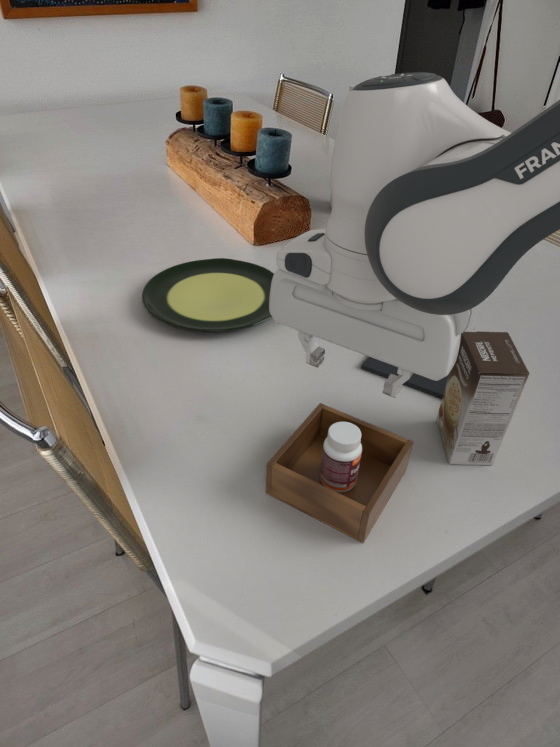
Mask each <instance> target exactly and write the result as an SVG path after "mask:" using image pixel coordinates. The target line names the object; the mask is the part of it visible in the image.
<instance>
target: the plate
mask: <svg viewBox="0 0 560 747" xmlns="http://www.w3.org/2000/svg"><path fill="white" fill-rule="evenodd" d="M274 273H275V272H272V271H271V270H269V268H266V267H264V266H262V265H259V264H256V263H252V262H249V261H243V260H238V259H233V258H228V257H227V258H226V257H225V258H224V257H218V258H217V257H216V258H205V259H198V260H197V259H196V260H191V261H187V262H182V263H179V264H175V265H173V266H170V267H168V268H165V269H164V270H162V271H160V272H158V273H157V274H155V275H154V276H153V277H151V278H150V279H149V280H148V281H147V282H146V283H145V285H144V287H143V289H142V291H141V301H142V304H143V307H144V308H145V309H146V311H147V312H148V313H149V314H150V315H151V316H153V317H154V318H156V319H158V320H159V321H162V322H164V323H166V324H169V325H170V326H174V327H175V328H179V329H184V330H189V331H195V332H227V331H229V332H230V331H236V330H241V329H247V328H249V327H250V328H251V327H253V326H256V325H259V324H261V323H264V322H265V321H267V320H269V319H271V318H273V317H272V316H271V314H270V311H269V299H270V289H271V282H272V278H273V275H274Z"/></svg>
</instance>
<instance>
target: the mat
mask: <svg viewBox="0 0 560 747" xmlns="http://www.w3.org/2000/svg"><path fill="white" fill-rule="evenodd" d="M360 369H362V370H364V371H366V372H370V373H372V374H375V375H377V376H381V377H383V378H386V379H388V377H389V376H390V374H393V375H396V376H398V375H399V374H398V373H397V371H398V367H396V366H393V365H391V364H388V363H385V362H383V361H380V360H377V359H374V358H372V357H369V356H367V358H366V359H365V360H364V361H363V362H362V364H361V365H360ZM448 376H449V374H448V375H447V376H446V377H444V378H442V379H440V380H438V381H435V380H431V379H429V378H426V377H423V376H421V375H418V374H415V373H413V375H412V376H411V377H410V379H409V380H407V381H406V382H405V383H403V384H402V385H404V386H407V387H410V388H412V389H415V390H417V391H421V392H423V393H426V394H429V395H430V396H433V397H437V398H439V399H442V398H443V394H444V390H445V387H446V383H447V380H448Z"/></svg>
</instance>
